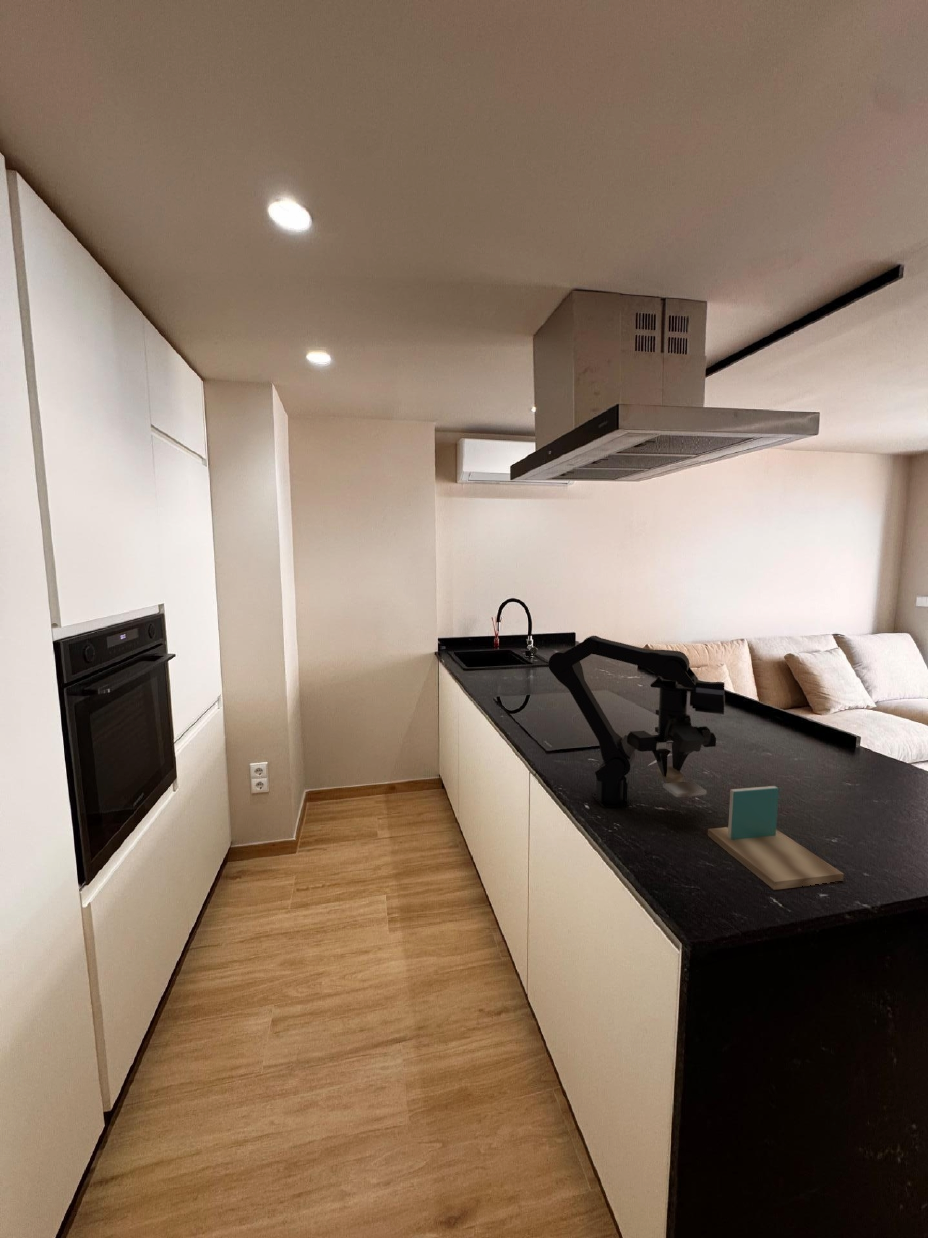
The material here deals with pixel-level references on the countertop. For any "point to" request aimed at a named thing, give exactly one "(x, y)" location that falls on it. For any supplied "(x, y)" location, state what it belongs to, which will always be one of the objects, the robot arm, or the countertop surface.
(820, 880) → the oak board
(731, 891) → the countertop surface
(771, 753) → the countertop surface
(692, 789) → the turner
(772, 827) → the tile
